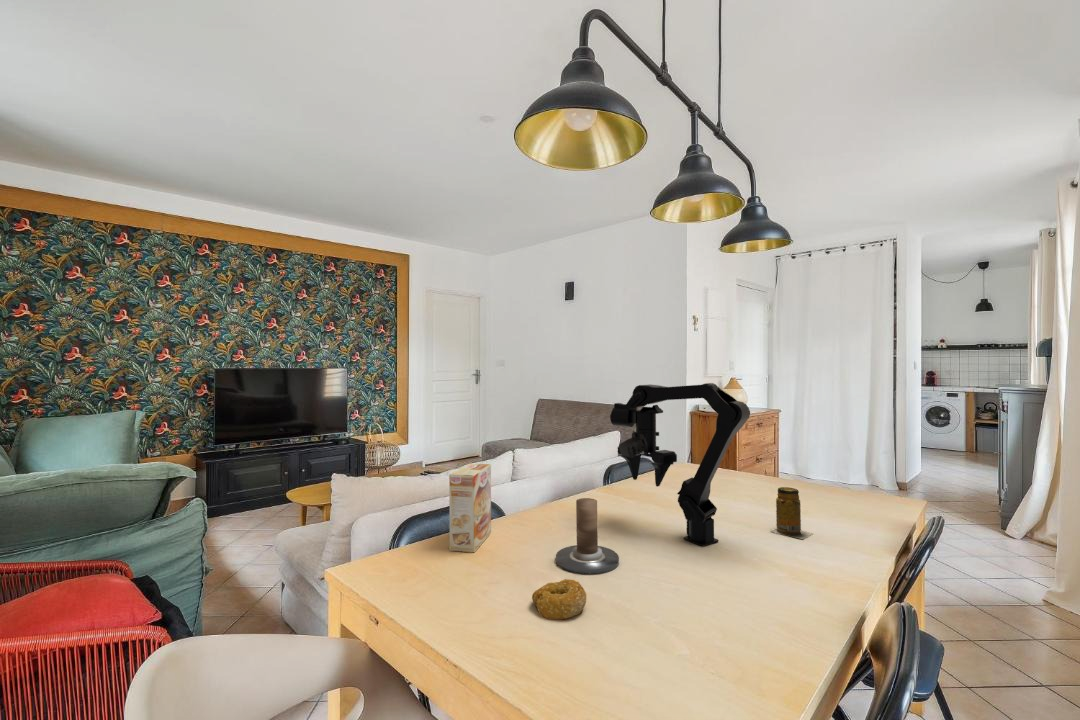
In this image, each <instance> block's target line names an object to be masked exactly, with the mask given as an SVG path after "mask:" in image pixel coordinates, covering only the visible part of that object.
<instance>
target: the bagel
mask: <svg viewBox="0 0 1080 720" xmlns="http://www.w3.org/2000/svg"><path fill="white" fill-rule="evenodd" d="M531 599H532V604H534V605H535V606H536V608H537V610H538V612H540V613H539V614H541V615H542V616H543V617H545V618H546V619H548V620H549V619H550V620H565V619H569V618H571V617H575V616H576V615H578V614H580V613H582V611H583V609H584V608H585V606H586V603H587V593H586V591H585V589H584V587H583V586H582V584H581V583H580V582H579V581H577V580H574V579H567V578H566V579H565V578H564V579H563V580H560V581H556V582H548V583H546V584H544V585H542V586H541V587H540V588H538V589H537V590H535V591H534V592H533V594H532V595H531Z"/></svg>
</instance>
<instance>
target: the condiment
mask: <svg viewBox="0 0 1080 720" xmlns="http://www.w3.org/2000/svg"><path fill="white" fill-rule="evenodd" d="M799 493H800V492H799V490H798V489H796V488H794V487H793V488H792V487H788V486H781V487H778V488H777V497H776V499H775V503H776V504H775V507H776V511H775V514H776V515H775V516H776V521H775V522H776V525H775V526H776V528H775V529H772V530H770V532H771V533H775V534H778V535H783V536H786V537H787V536H788V537H792V538H796V539H800V540H803V539H806V538H808V537H810V536H812V535H813V534H814V533H813V532H809V531H804V530H802V523H801V522H802V516H801V510H802V509H801V499H800V495H799Z"/></svg>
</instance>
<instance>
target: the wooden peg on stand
mask: <svg viewBox="0 0 1080 720" xmlns="http://www.w3.org/2000/svg"><path fill="white" fill-rule="evenodd" d="M575 501H576V502H575V507H576V509H575V511H576V512H575V513H576V514H575V515H576V516H575V518H576V521H575V522H576V545H577V547H575V548H573V557H574V558H575V559H577V560H581V561H596V560H599V559H600V558H602V550H601V548H599V547H598V546H599V544H598V543H599V542H598V539H599V538H598V537H599V536H598V533H599V532H598V500H596V499H594V498H592V497H591V498H590V497H589V498H588V497H587V498H586V497H583V498H582V497H581V498H578V499H576V500H575Z"/></svg>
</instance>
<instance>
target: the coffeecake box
mask: <svg viewBox="0 0 1080 720" xmlns="http://www.w3.org/2000/svg"><path fill="white" fill-rule="evenodd" d="M448 477H449V478H448V479H449V485H448V486H449V487H448V488H449V490H448V491H449V496H448V497H449V501H448V502H449V548H448V549H449V551H450V552H452V551H453V552H461V551H462V552H464V553H473V552H474V553H476V552H477V550H478V549H479V548H480V547H479V546H481V545H482V544H484V542H485V541H486V540H485V539H488V537H489V536H490V535H492V464H489V463H468V464H466V465H463V466H462V467H460V468H458V469H457V470H455V471H454V472H452V473H450V474H449V475H448Z"/></svg>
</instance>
